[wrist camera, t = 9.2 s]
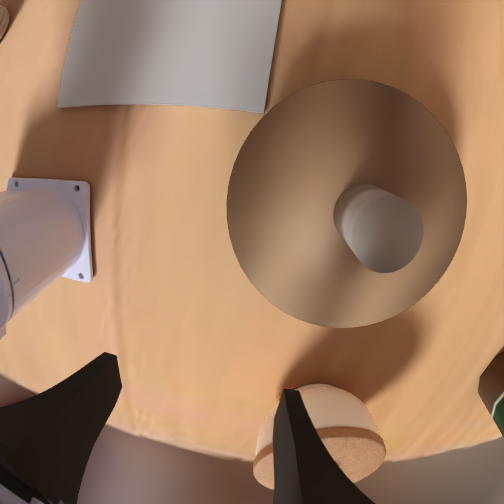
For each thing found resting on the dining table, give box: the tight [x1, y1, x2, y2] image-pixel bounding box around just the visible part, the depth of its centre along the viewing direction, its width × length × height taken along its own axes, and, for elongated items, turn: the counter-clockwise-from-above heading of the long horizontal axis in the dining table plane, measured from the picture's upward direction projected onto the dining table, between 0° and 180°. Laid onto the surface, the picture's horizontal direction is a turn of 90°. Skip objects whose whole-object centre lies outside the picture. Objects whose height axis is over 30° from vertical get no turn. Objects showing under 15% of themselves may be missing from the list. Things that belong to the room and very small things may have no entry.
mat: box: [57, 0, 282, 114], centre depth 14 cm, size 15×15×1 cm
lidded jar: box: [253, 383, 386, 490], centre depth 21 cm, size 11×11×9 cm
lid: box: [227, 79, 467, 328], centre depth 12 cm, size 13×13×4 cm
